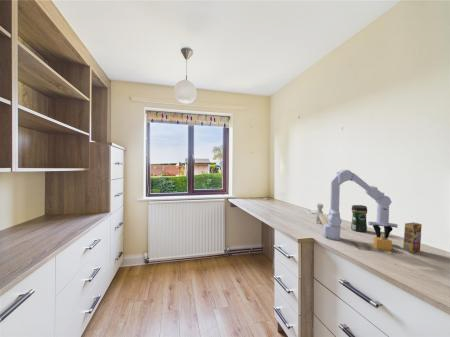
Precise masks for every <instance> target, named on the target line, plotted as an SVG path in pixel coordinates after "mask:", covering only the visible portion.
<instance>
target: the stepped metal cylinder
mask: <svg viewBox="0 0 450 337" xmlns="http://www.w3.org/2000/svg"><path fill="white" fill-rule="evenodd" d="M380 238H386V233H385V232H384V231H380Z"/></svg>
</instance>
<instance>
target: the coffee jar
mask: <svg viewBox="0 0 450 337" xmlns="http://www.w3.org/2000/svg"><path fill="white" fill-rule="evenodd" d="M351 213H352V216H351V217H352V218H351V225H350V228H351V230H352V231H354V232H355V231H356V232H368V221H367V214H368V207H367V206H366V205H362V204H361V205H360V204H353V205H351Z"/></svg>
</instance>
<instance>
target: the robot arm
mask: <svg viewBox="0 0 450 337" xmlns="http://www.w3.org/2000/svg"><path fill="white" fill-rule="evenodd" d="M348 181H350V182H353V183H355V184H357V185H358V186H359V187H360V188H362V189H364V190H365V194H367V195H368V196H369V197H370V198H372V199H373V200H375V202H376V204H377V206H376V221H367V226H372V228H373V230H374V232H375V235H376V236H375V237H378V238H380V232H381V230H382V227H383V232H385V233H386V238H388V239H389V236H390V234H391V233H392V231H393V229H394V228H396V229H398V226H399V224H397V223H392V222H389V221H390V205H391V204H392V202H393V201H392V200H391V197H389V196H387V195H385V192H381V191H380V190H379V188H378V187H377V186H374V185H369V184H368V183H366V181H365V180H363V179H362V178H361V177H360V176H359V175H357V174H355V173H354V172H352V171H351V170H349V169H341V170H339V171H337V172H336V174H335V175H334V176H333V177H332V179H331V181H330V198H329V200H330V201H329V202H330V208H329V211H328V215H327V218H326V219H327V221H328V224H324V226H323V225H322V227H323V230H322V231H323V232H322V235H323V236H322V237H323V238H324V239H331V240H341V224H342V221H343V220H342V218H341V213H340V188H341V185H342V184H343V183H344V182H348Z"/></svg>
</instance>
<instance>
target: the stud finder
mask: <svg viewBox="0 0 450 337" xmlns="http://www.w3.org/2000/svg"><path fill="white" fill-rule="evenodd" d="M373 242H374V244H373V246H374V247H375V248H377V249H386V250H392V248H393V247H392V245H393V240H391V239H390V238H389V237H388V238H378V237H377V236H374V237H373Z"/></svg>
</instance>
